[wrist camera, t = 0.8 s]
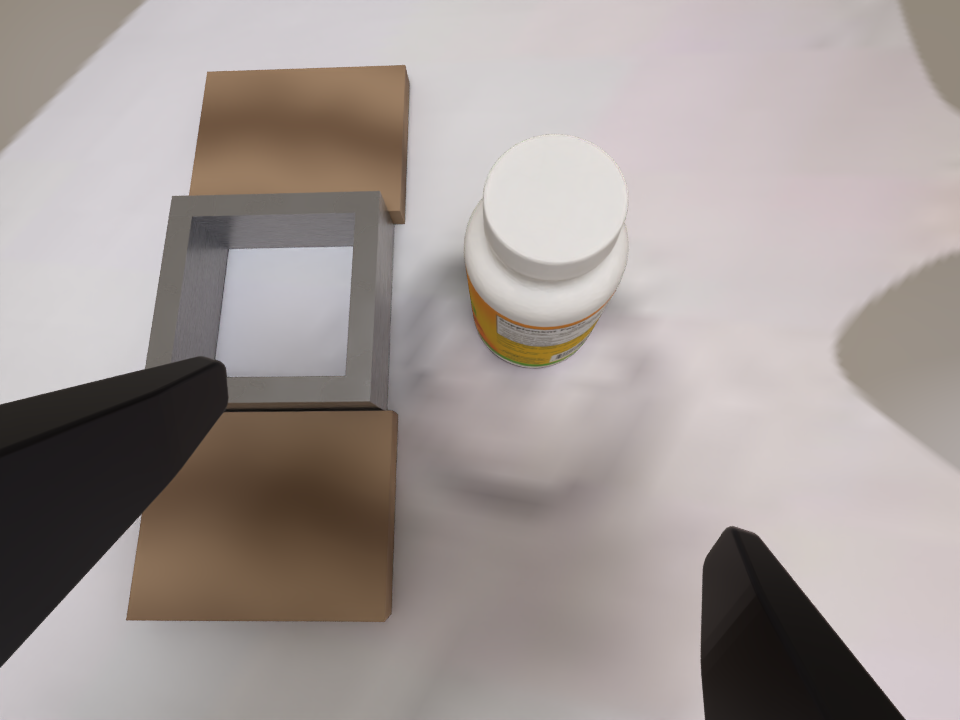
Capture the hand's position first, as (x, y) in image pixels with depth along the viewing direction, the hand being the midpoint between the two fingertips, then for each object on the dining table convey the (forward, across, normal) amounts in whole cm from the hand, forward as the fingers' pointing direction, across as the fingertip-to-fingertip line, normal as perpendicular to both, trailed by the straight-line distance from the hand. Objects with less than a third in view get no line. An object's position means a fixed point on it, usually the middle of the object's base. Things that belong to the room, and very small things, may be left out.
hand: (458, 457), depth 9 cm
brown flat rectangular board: (+12, +10, +6) cm, 17 cm away
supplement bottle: (+15, 0, +4) cm, 15 cm away
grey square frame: (+12, +10, +6) cm, 17 cm away
